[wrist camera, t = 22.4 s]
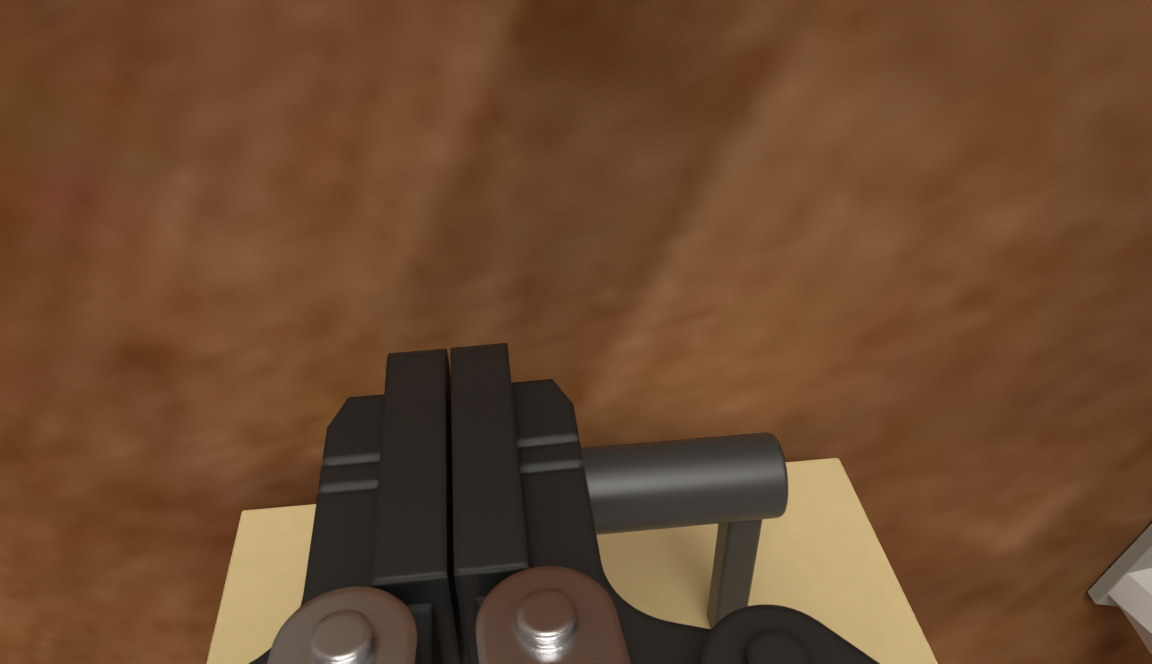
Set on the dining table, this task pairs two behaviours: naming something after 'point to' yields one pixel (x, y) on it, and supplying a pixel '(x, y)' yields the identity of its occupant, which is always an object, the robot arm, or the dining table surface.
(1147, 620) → the skyscraper
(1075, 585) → the dining table surface
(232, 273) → the dining table surface
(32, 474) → the dining table surface
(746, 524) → the drawer
